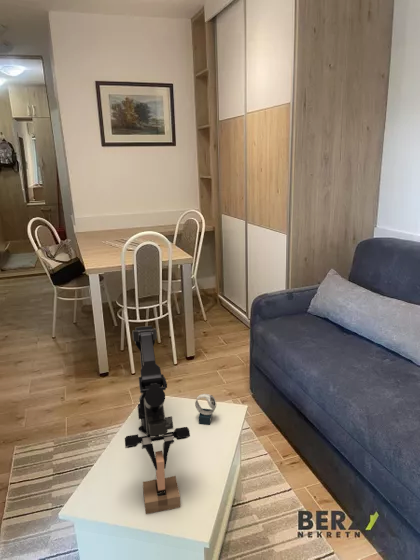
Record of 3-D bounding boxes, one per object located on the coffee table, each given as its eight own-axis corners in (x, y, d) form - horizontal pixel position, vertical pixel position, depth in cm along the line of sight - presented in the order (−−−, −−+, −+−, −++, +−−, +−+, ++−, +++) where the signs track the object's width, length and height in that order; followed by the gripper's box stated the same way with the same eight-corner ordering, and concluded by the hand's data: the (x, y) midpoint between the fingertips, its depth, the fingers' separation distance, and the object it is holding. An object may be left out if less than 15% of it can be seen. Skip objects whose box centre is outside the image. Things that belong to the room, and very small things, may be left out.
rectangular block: (156, 479, 122) (155, 451, 118) (163, 477, 122) (162, 450, 119) (158, 490, 117) (157, 462, 114) (165, 489, 118) (164, 461, 115)
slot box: (143, 492, 124) (142, 481, 123) (175, 486, 126) (175, 475, 125) (145, 514, 117) (145, 503, 116) (180, 507, 119) (180, 496, 118)
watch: (215, 425, 154) (215, 400, 150) (194, 423, 155) (193, 398, 152) (217, 416, 159) (217, 392, 156) (197, 414, 160) (196, 390, 157)
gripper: (122, 413, 114) (127, 474, 107) (188, 403, 118) (196, 461, 112) (123, 419, 124) (127, 475, 117) (183, 410, 128) (191, 464, 121)
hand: (160, 469), depth 116 cm, fingers closed on rectangular block, 2 cm apart
